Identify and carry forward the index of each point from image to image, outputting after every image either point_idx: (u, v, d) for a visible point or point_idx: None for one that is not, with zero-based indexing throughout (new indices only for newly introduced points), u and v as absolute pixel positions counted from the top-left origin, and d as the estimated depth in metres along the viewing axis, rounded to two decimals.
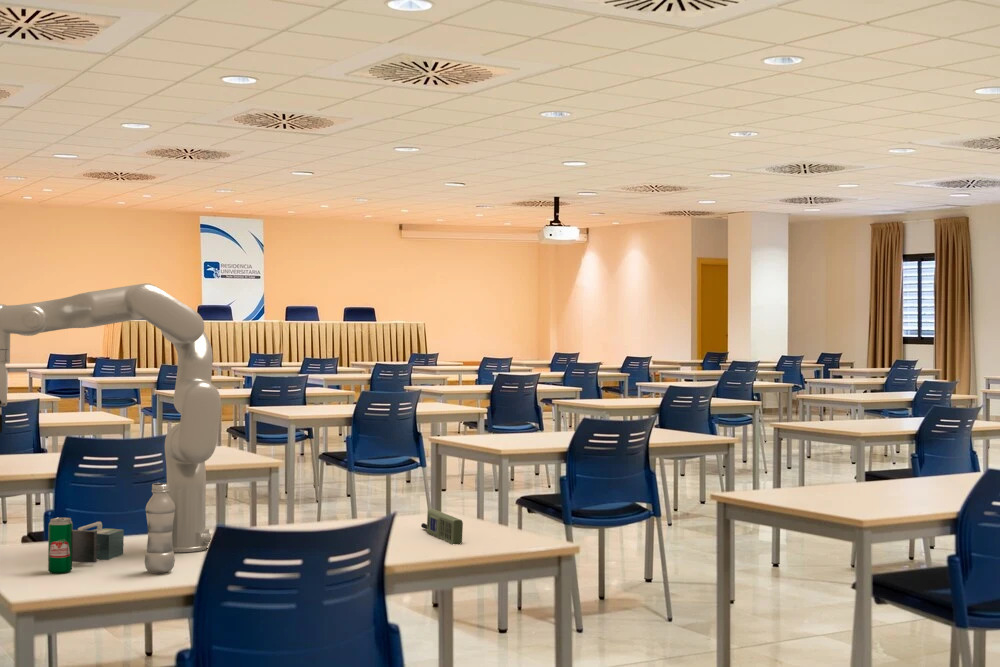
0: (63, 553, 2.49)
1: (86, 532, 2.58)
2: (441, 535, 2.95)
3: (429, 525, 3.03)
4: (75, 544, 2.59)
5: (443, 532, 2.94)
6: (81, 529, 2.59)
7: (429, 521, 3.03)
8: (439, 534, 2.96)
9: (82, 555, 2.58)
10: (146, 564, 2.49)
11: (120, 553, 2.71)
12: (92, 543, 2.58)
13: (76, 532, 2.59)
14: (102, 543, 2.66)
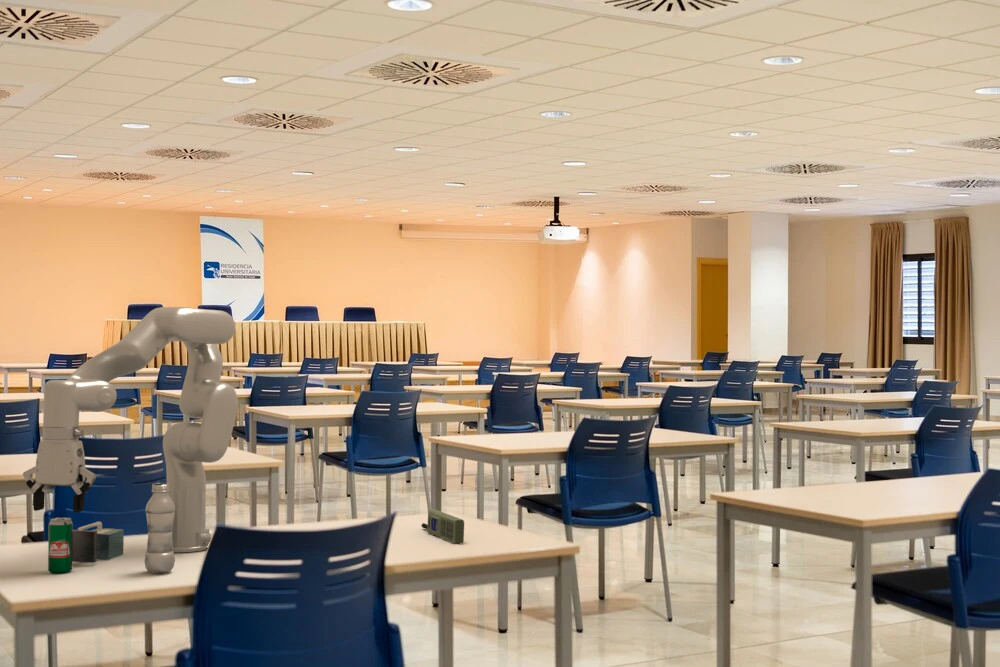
0: (63, 553, 2.49)
1: (86, 532, 2.58)
2: (442, 535, 2.95)
3: (430, 525, 3.03)
4: (75, 544, 2.59)
5: (444, 532, 2.94)
6: (81, 529, 2.59)
7: (430, 521, 3.03)
8: (440, 534, 2.96)
9: (82, 555, 2.58)
10: (146, 564, 2.49)
11: (120, 553, 2.71)
12: (92, 543, 2.58)
13: (76, 532, 2.59)
14: (102, 543, 2.66)
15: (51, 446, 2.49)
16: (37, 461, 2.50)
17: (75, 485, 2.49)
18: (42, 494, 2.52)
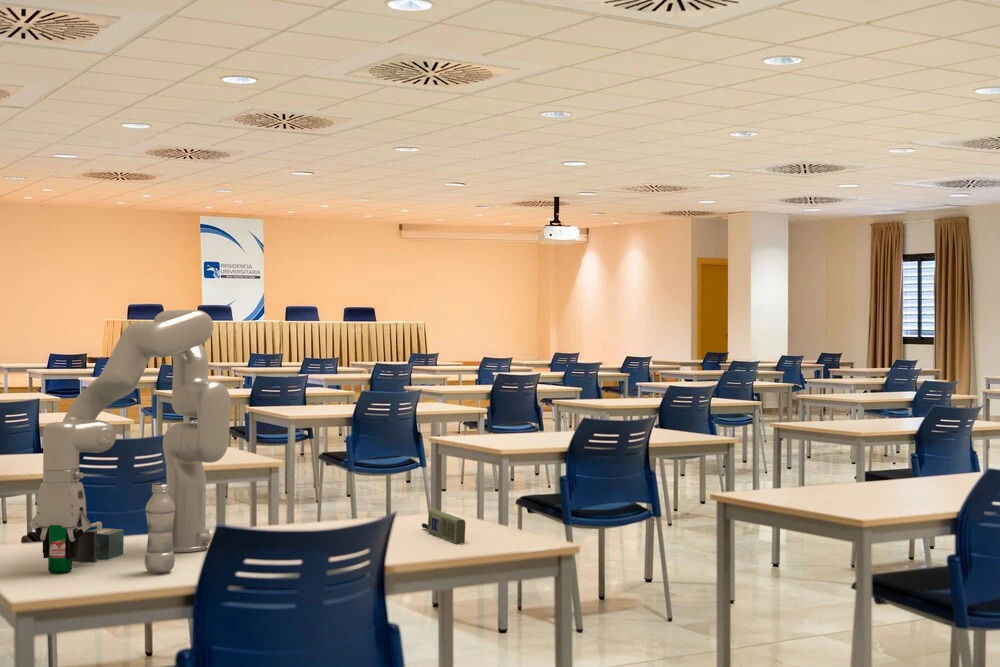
0: (63, 553, 2.49)
1: (86, 532, 2.58)
2: (443, 535, 2.95)
3: (430, 525, 3.03)
4: None
5: (445, 532, 2.94)
6: None
7: (430, 521, 3.03)
8: (441, 534, 2.96)
9: (82, 555, 2.58)
10: (146, 564, 2.49)
11: (120, 553, 2.71)
12: (92, 543, 2.58)
13: None
14: (102, 543, 2.66)
15: (51, 489, 2.49)
16: (37, 504, 2.50)
17: (71, 531, 2.49)
18: None
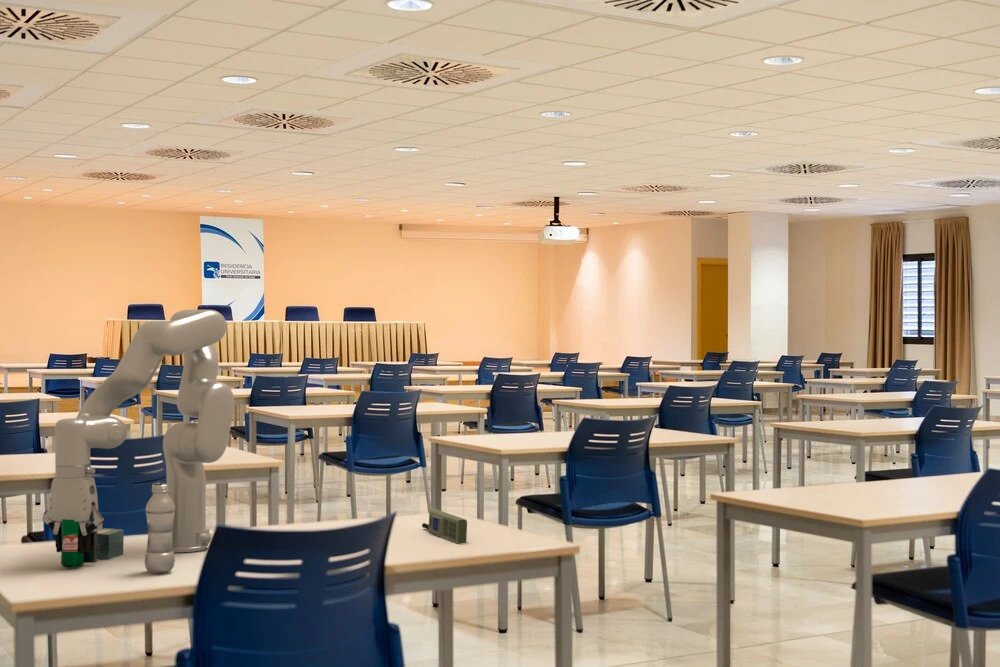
0: (76, 547, 2.54)
1: None
2: (444, 535, 2.95)
3: (431, 525, 3.03)
4: None
5: (447, 532, 2.94)
6: None
7: (431, 521, 3.03)
8: (442, 534, 2.97)
9: None
10: (146, 564, 2.49)
11: (120, 553, 2.71)
12: (93, 543, 2.58)
13: None
14: (102, 543, 2.66)
15: (63, 484, 2.54)
16: (50, 499, 2.55)
17: (83, 525, 2.54)
18: None
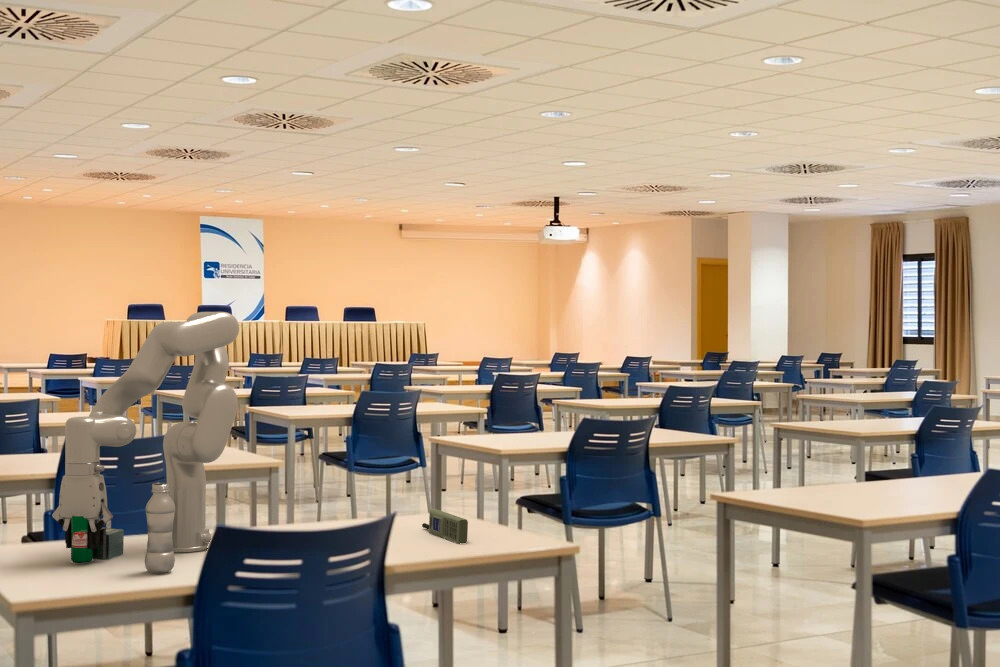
0: (85, 543, 2.58)
1: None
2: (445, 535, 2.96)
3: (431, 525, 3.03)
4: None
5: (447, 532, 2.94)
6: None
7: (431, 521, 3.03)
8: (443, 534, 2.97)
9: None
10: (146, 564, 2.49)
11: (120, 553, 2.71)
12: (102, 540, 2.62)
13: None
14: None
15: (73, 482, 2.58)
16: (60, 496, 2.59)
17: (93, 522, 2.58)
18: None
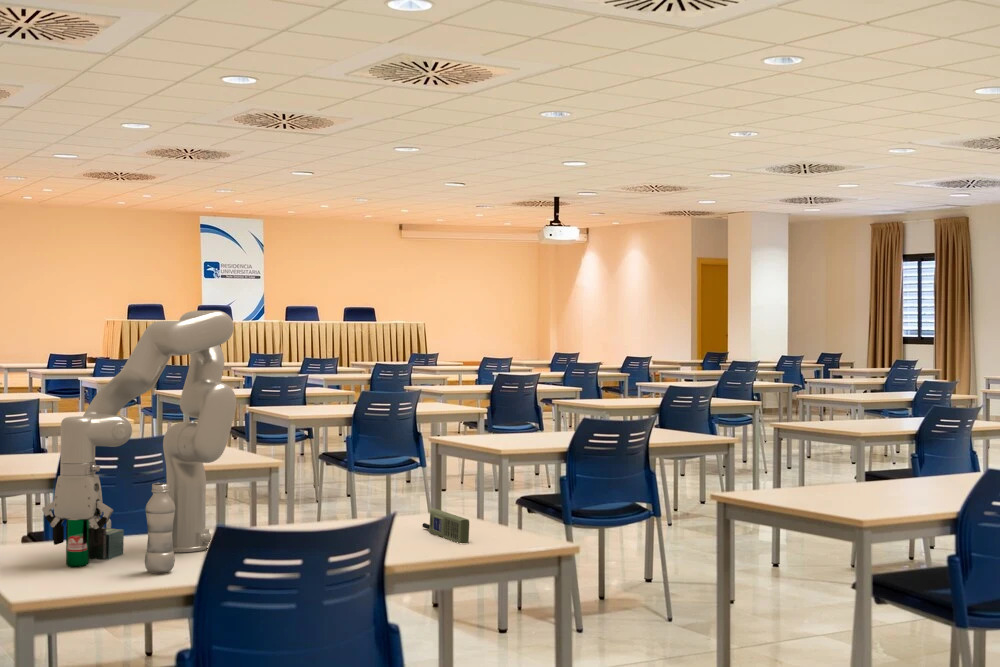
0: (81, 547, 2.56)
1: None
2: (446, 535, 2.96)
3: (432, 525, 3.03)
4: None
5: (449, 532, 2.95)
6: (91, 526, 2.63)
7: (432, 521, 3.03)
8: (444, 534, 2.97)
9: (92, 552, 2.62)
10: (146, 564, 2.49)
11: (120, 553, 2.71)
12: (102, 540, 2.62)
13: None
14: None
15: (68, 482, 2.56)
16: (55, 496, 2.57)
17: (92, 519, 2.56)
18: (61, 528, 2.59)
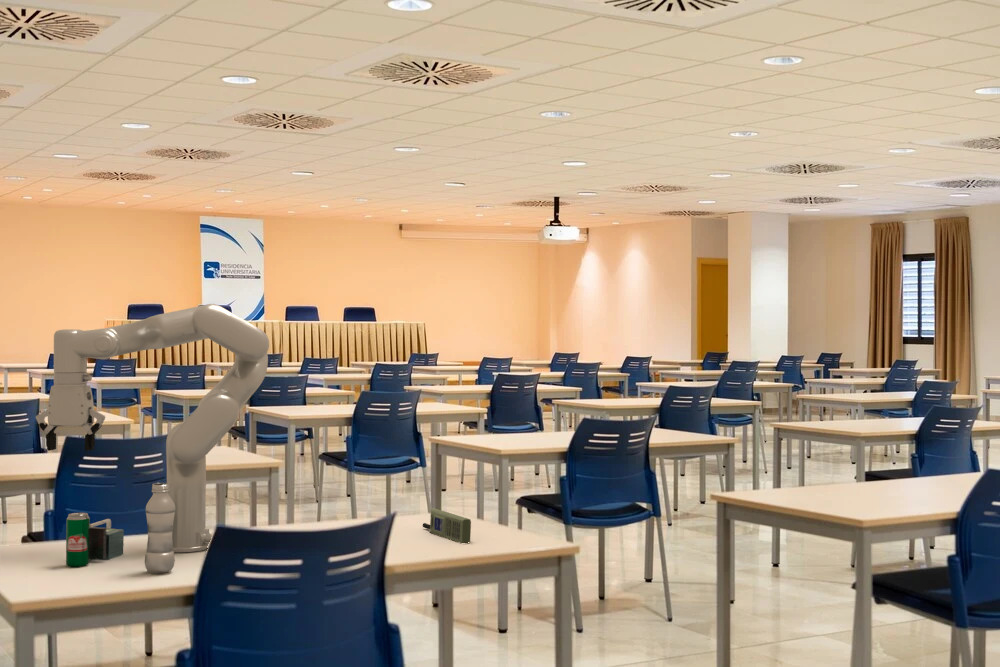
0: (81, 547, 2.56)
1: (95, 529, 2.62)
2: (447, 534, 2.96)
3: (433, 525, 3.03)
4: None
5: (450, 531, 2.95)
6: (91, 526, 2.63)
7: (433, 521, 3.03)
8: (445, 533, 2.97)
9: (92, 552, 2.62)
10: (146, 564, 2.49)
11: (120, 553, 2.71)
12: (102, 540, 2.62)
13: None
14: None
15: (62, 390, 2.69)
16: (49, 404, 2.70)
17: (86, 426, 2.70)
18: (54, 435, 2.73)
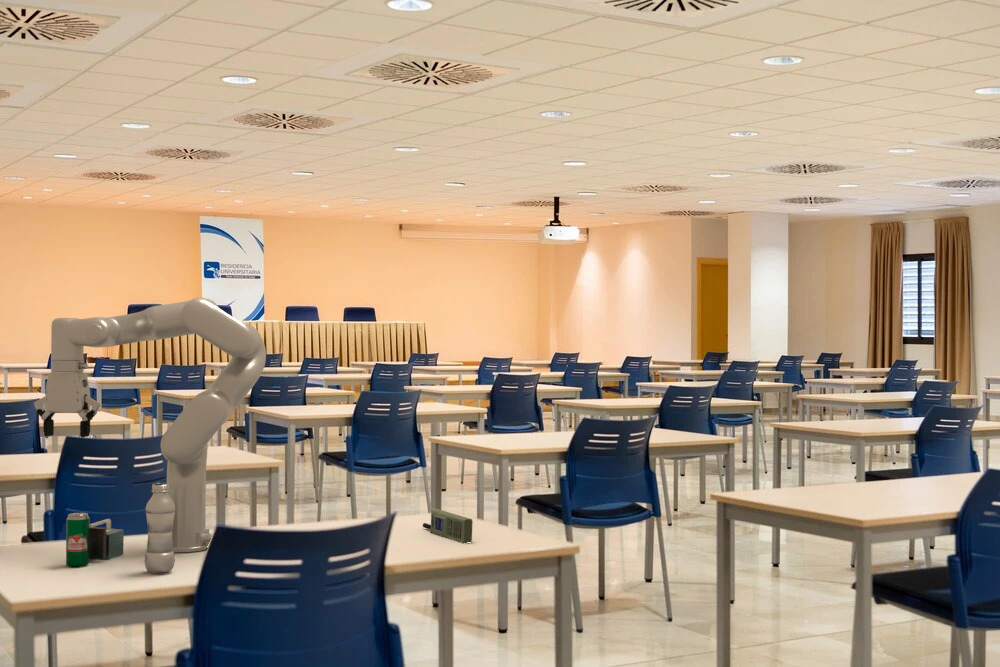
0: (81, 547, 2.56)
1: (95, 529, 2.62)
2: (449, 534, 2.96)
3: (434, 525, 3.03)
4: None
5: (451, 531, 2.95)
6: (91, 526, 2.63)
7: (434, 521, 3.03)
8: (446, 533, 2.97)
9: (92, 552, 2.62)
10: (146, 564, 2.49)
11: (120, 553, 2.71)
12: (102, 540, 2.62)
13: None
14: None
15: (58, 377, 2.75)
16: (46, 391, 2.76)
17: (81, 412, 2.75)
18: (51, 421, 2.78)
